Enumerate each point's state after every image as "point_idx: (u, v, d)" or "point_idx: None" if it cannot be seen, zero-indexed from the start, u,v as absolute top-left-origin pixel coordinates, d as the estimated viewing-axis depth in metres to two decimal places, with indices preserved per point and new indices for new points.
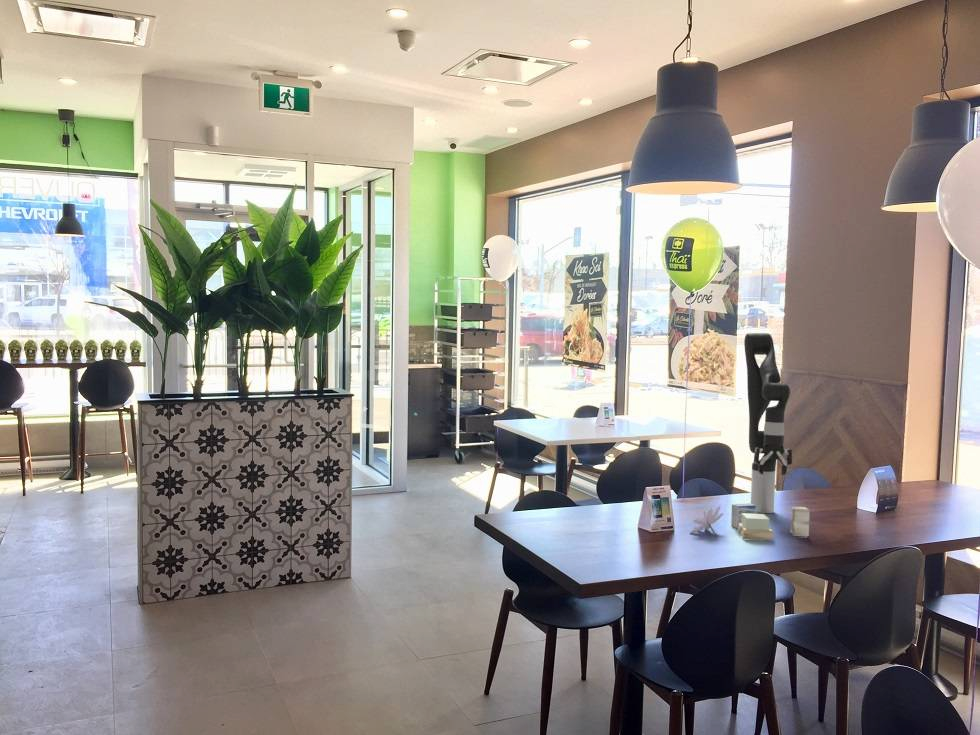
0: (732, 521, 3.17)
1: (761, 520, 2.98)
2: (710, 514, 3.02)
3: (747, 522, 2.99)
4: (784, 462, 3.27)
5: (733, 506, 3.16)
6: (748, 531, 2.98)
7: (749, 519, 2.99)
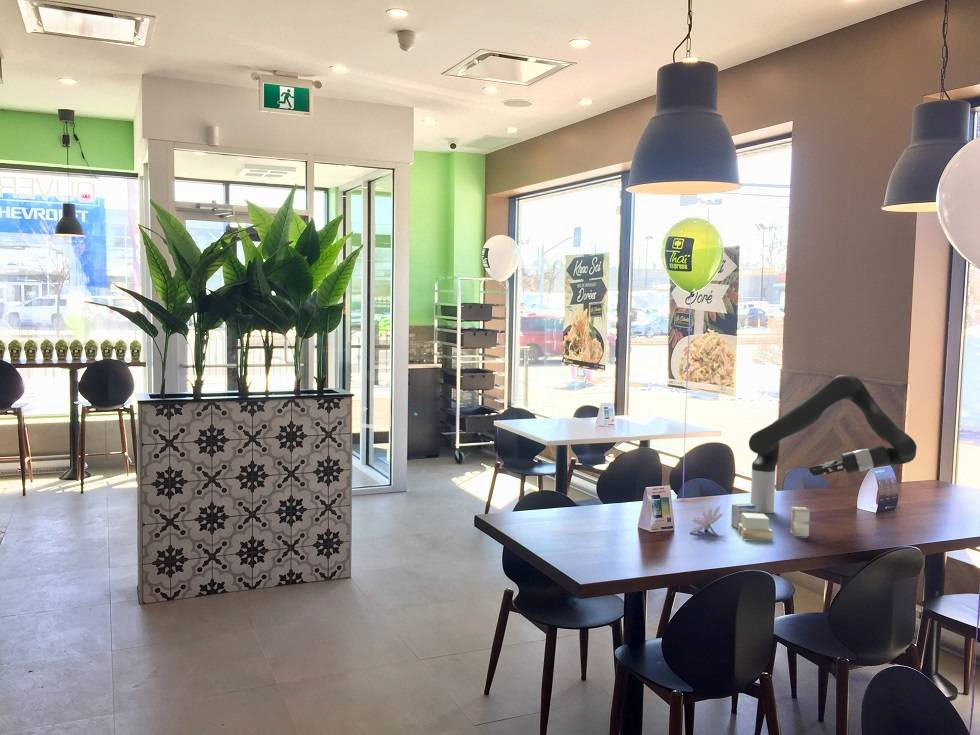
0: (732, 521, 3.17)
1: (760, 520, 2.99)
2: (709, 514, 3.02)
3: (747, 522, 2.99)
4: None
5: (733, 506, 3.16)
6: (748, 531, 2.98)
7: (749, 519, 2.99)
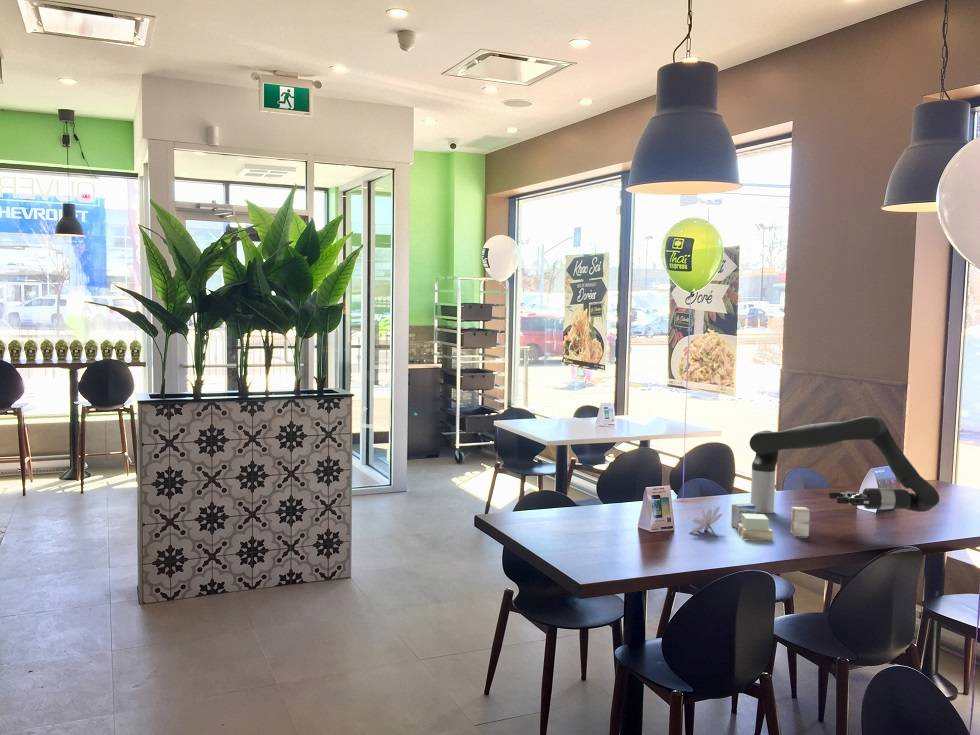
0: (732, 521, 3.17)
1: (760, 520, 2.98)
2: (709, 514, 3.02)
3: (746, 522, 2.99)
4: None
5: (733, 506, 3.16)
6: (748, 531, 2.98)
7: (748, 519, 2.99)
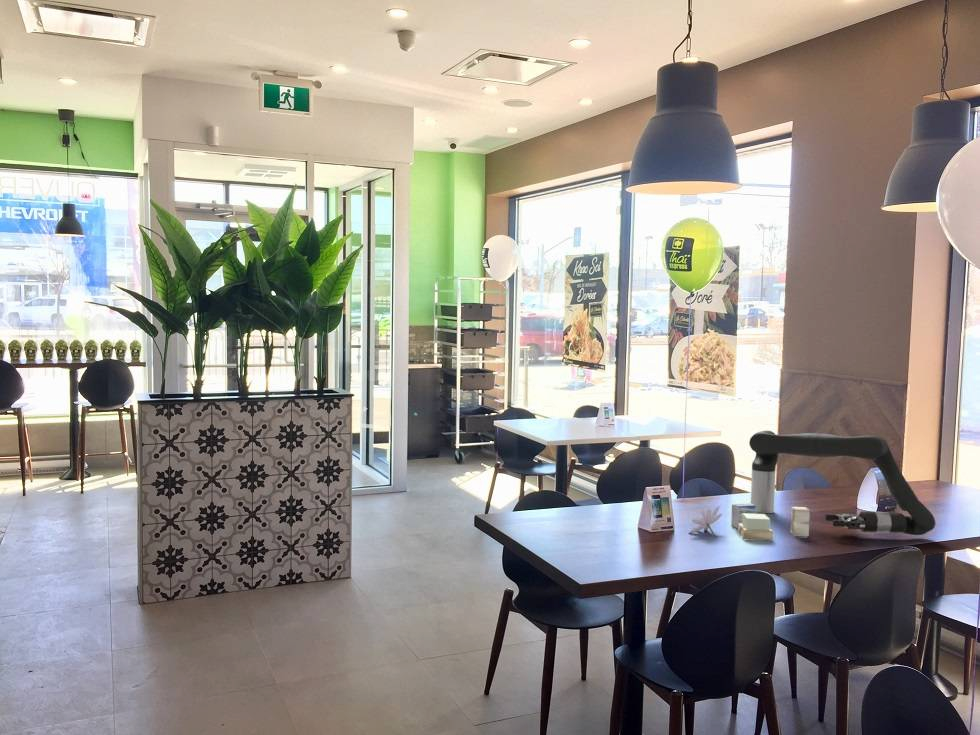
0: (732, 521, 3.17)
1: (761, 520, 2.98)
2: (708, 514, 3.02)
3: (747, 522, 2.99)
4: None
5: (733, 506, 3.16)
6: (748, 531, 2.98)
7: (749, 519, 2.99)
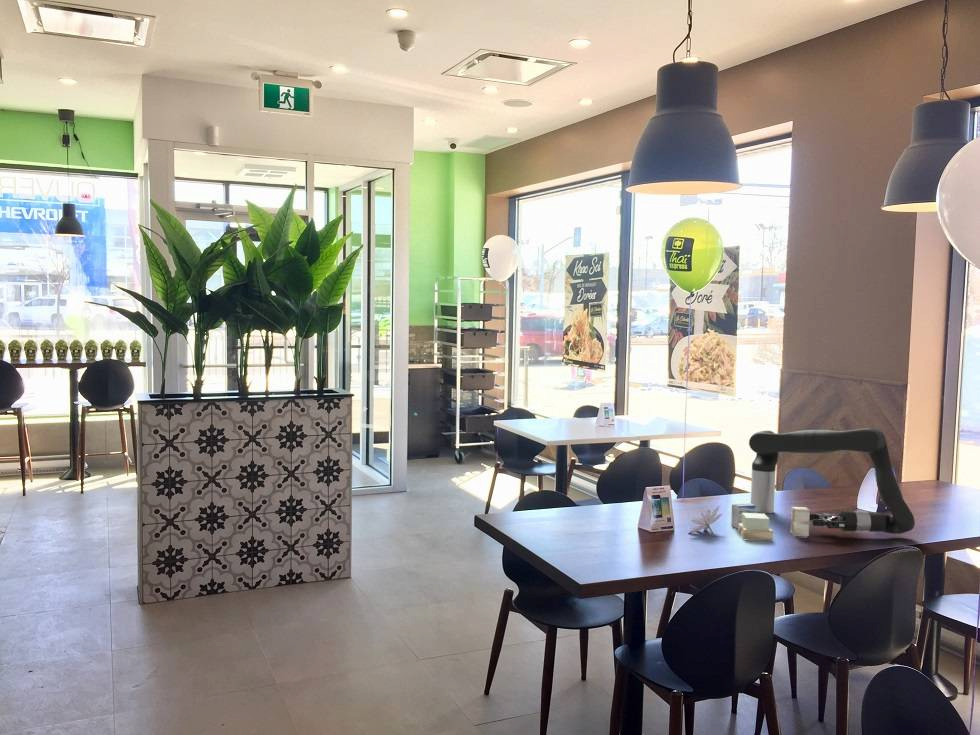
0: (732, 521, 3.17)
1: (760, 520, 2.99)
2: (708, 514, 3.02)
3: (747, 522, 2.99)
4: None
5: (733, 506, 3.16)
6: (748, 531, 2.98)
7: (749, 519, 2.99)
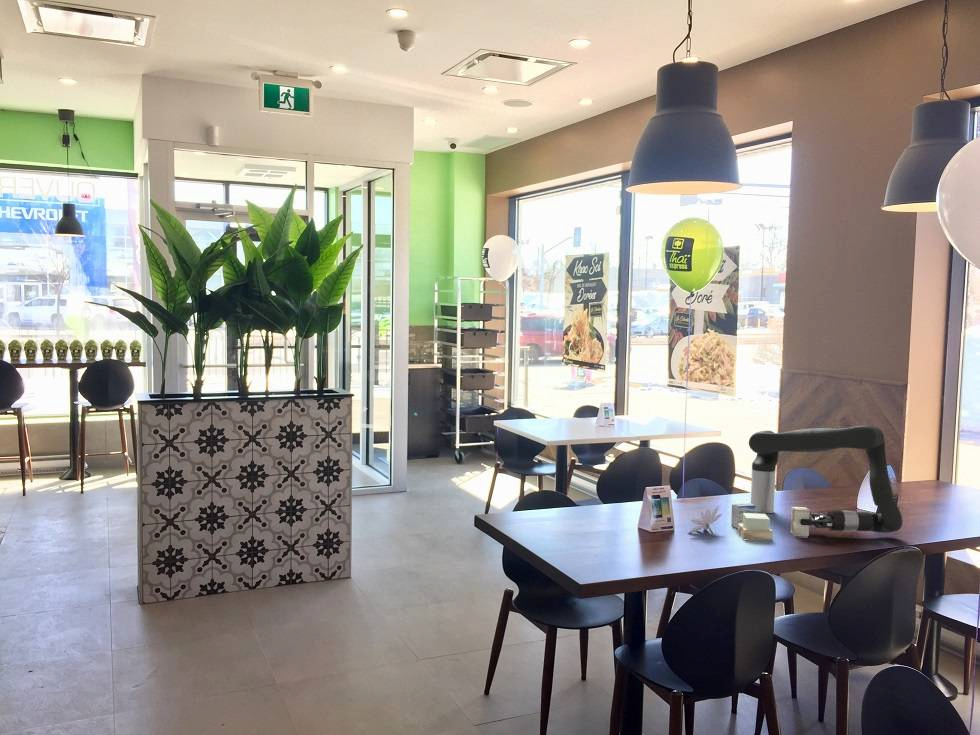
0: (732, 521, 3.17)
1: (761, 520, 2.99)
2: (708, 514, 3.02)
3: (747, 522, 2.99)
4: None
5: (733, 506, 3.16)
6: (748, 531, 2.98)
7: (749, 519, 2.99)
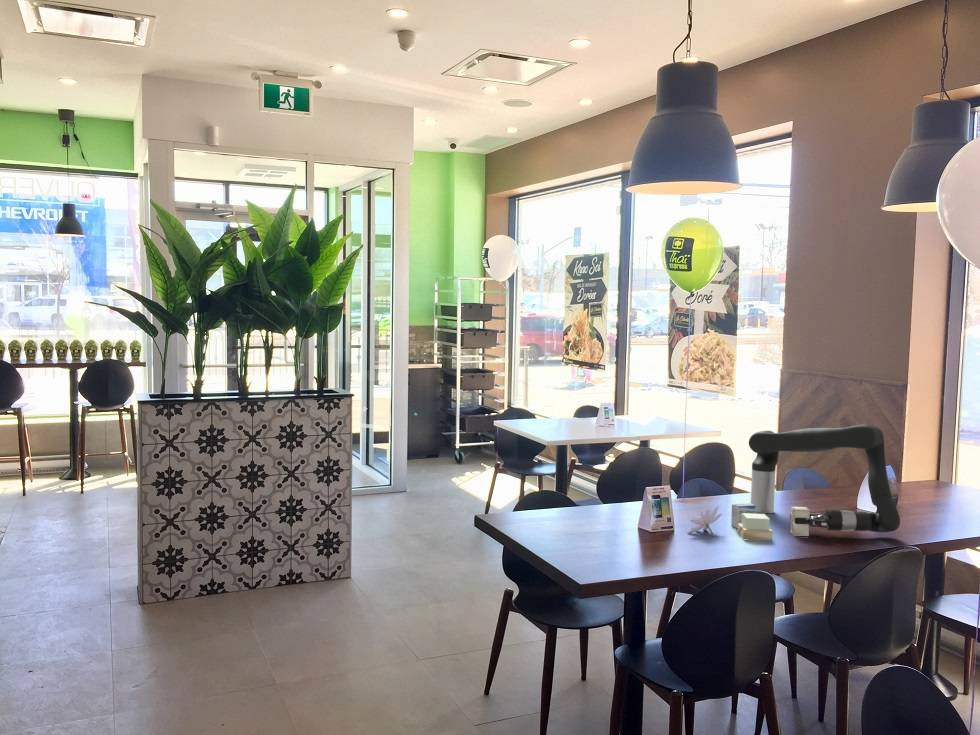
0: (732, 521, 3.17)
1: (761, 520, 2.98)
2: (707, 514, 3.01)
3: (747, 522, 2.99)
4: None
5: (733, 506, 3.16)
6: (748, 531, 2.98)
7: (749, 519, 2.99)
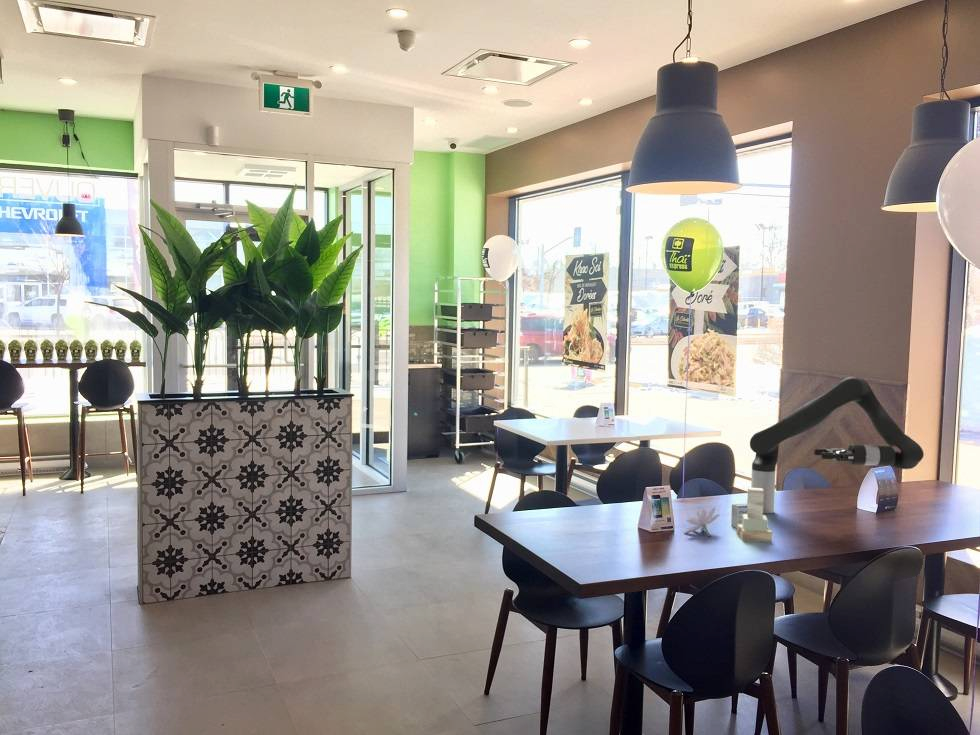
0: (732, 521, 3.17)
1: (759, 521, 2.97)
2: (704, 515, 3.01)
3: (745, 523, 2.98)
4: None
5: (733, 506, 3.16)
6: (747, 532, 2.96)
7: (747, 520, 2.97)
